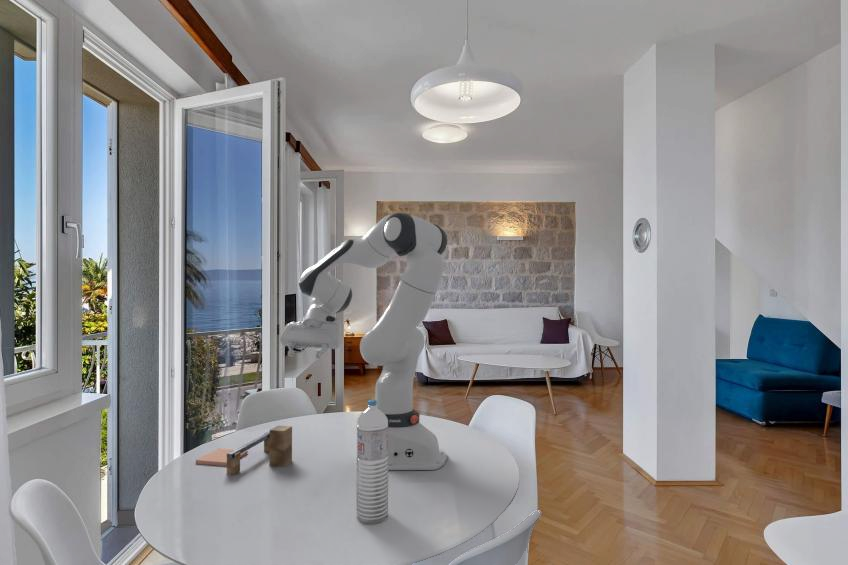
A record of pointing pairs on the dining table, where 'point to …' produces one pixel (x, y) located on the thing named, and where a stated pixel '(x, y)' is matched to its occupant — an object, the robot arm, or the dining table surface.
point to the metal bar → (249, 445)
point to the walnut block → (280, 446)
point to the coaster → (217, 457)
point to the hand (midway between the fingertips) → (304, 356)
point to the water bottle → (372, 465)
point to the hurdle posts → (234, 463)
